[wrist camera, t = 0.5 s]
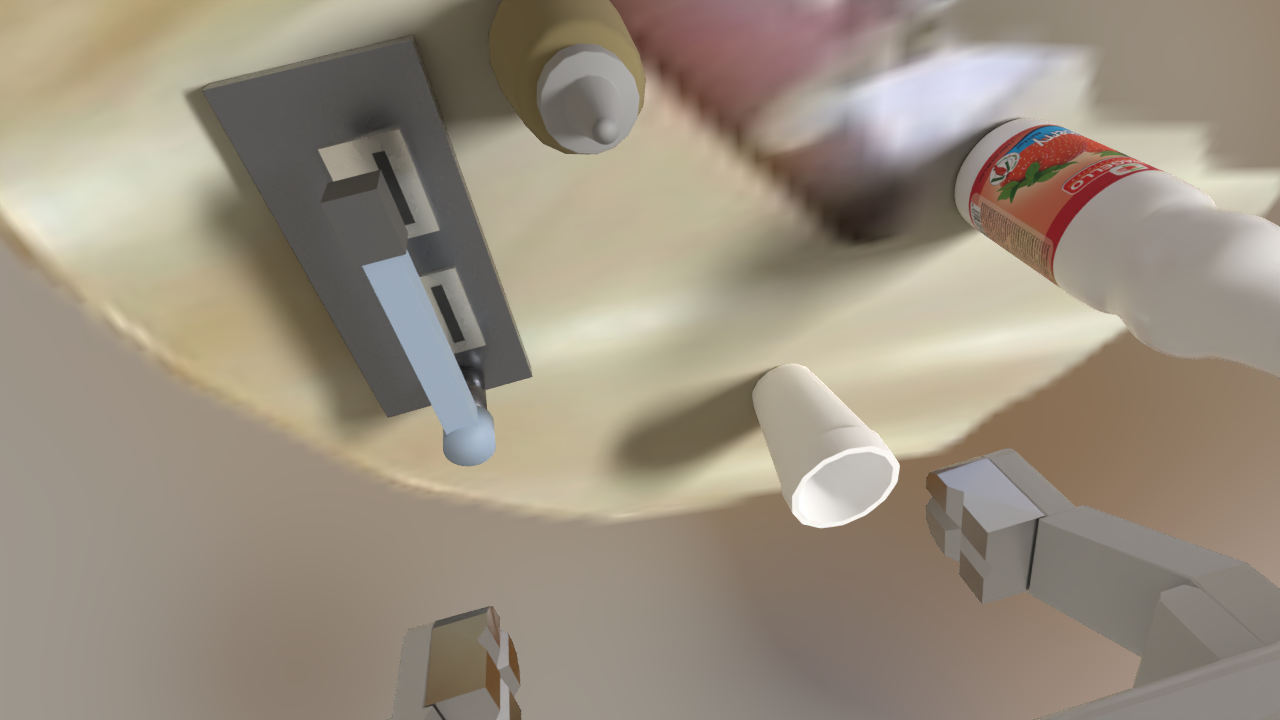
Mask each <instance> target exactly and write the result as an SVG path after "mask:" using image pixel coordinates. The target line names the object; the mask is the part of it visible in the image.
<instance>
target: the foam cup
mask: <svg viewBox="0 0 1280 720" xmlns="http://www.w3.org/2000/svg"><path fill="white" fill-rule="evenodd" d="M752 399H753V405H754V409H755V412H756V415H757V418H758V420H759V423H760V426H761V429H762V432H763V435H764V437H765V440H766V443H767V446H768V449H769V452H770V455H771V457H772V460H773V463H774V466H775V469H776V472H777V474H778V477H779V480H780V483H781V493H782V494H783V496H784V498H785V500H786V502H787V504H788V506H789V508H790V509H791V511H792V513H793V514H794V515H795V516H796V517H797V518H798V520H799V521H800V522H801V523H802V524H804V525H809V526H814V527H818V528H826V527H832V526H839V525H844V524H847V523H849V522H851V521H853V520H855V519H858V518H860V517H862V516H865V515H867V514H868V513H869V512H870V511H872V510H873V509H874V508H875V507H877V506H878V505H879V504H880V503H882V502H883V501H884V500H885V499H886V498H887V496H888V495H889V494H890V492H891V491H892V489H893V488H894V486H895V485H896V483H897V481H898V474H899V467H900V464H899V463H898V461H897V460H896V458H895V457H894V455H893V454H892V452H891V451H890V449H889V448H888V447H887V445H886V444H885V443H884V441H883V440H882V439H881V437H880V436H879V435H878V433H877V432H875V431H872V430H870V429H869V428H868V427H867V426H866V425H865V424H864V423H863V422H862V421H861V420H860V419H859V418H858V417H857V416H856V415H855V414H854V413H853V412H852V411H851V410H850V409H849V408H848V407H847V406H846V405H845V404H844V403H843V402H842V401H841V400H840V399H839V398H838V397H837V396H836V395H835V394H834V393H833V392H832V391H831V390H830V389H829V388H828V387H827V386H826V385H825V384H824V383H823V382H822V381H821V380H820V379H819V378H818V377H816V376H815V375H814V374H813V373H812V372H811V371H810V370H809V369H808V368H807V367H804V366H802V365H799V364H785V365H781V366H778V367H776V368H774V369H772V370H770V371H768V372H767V373H766V374H765V375H764V376H763V377H762V378H761V379H760V380H758V382H757V384H756V386H755V388H754V390H753V392H752Z"/></svg>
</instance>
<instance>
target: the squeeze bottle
mask: <svg viewBox="0 0 1280 720" xmlns="http://www.w3.org/2000/svg"><path fill="white" fill-rule="evenodd" d="M489 56H490V64H491V67H492V69H493V72H494V74H495V77H496V79H497V81H498V84H499V86H500V89H501V90H502V92H503V93H504V95H505V96H506V98H507V99H508V101H509V102H510V104H511V105H512V106H513V108H514V109H515V111H516V112H517V114H518V115H519V117H520V118H521V120H522V121H523V122H524V124H525V125H526V126H527V127H528V128H529V129H530V131H531V132H532V133H533V134H534V135H535V136H536V137H537V138H538V139H539V140H540V141H541V142H542V143H543V144H545V145H547V146H550V147H552V148H554V149H556V150H559V151H561V152H563V153H565V154H598V153H601V152H604V151H606V150H609V149H612V148H614V147H615V146H617V145H618V144H619V143H620V142H621V141H622V140H623V139H624V138H625V137H626V136H628V135H629V133H630V131H631V129H632V127H633V125H634V123H635V121H636V119H637V117H638V115H639V113H640V111H641V109H642V107H643V102H644V93H645V83H646V78H645V74H644V71H643V67H642V63H641V59H640V56H639V53H638V51H637V49H636V47H635V45H634V43H633V41H632V39H631V37H630V35H629V33H628V31H627V29H626V27H625V25H624V23H623V20H622V18H621V16H620V14H619V13H618V12H617V10H616V9H615V7H614V6H613V5H612V3H611V2H610V1H609V0H503V1H502V2H501V3H500V4H499V7H498V10H497V12H496V15H495V18H494V20H493V23H492V25H491V28H490V31H489Z"/></svg>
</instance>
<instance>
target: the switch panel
mask: <svg viewBox="0 0 1280 720" xmlns="http://www.w3.org/2000/svg"><path fill="white" fill-rule="evenodd" d="M202 91H203V93H204V95H205V96H206V98H207V100H208V102H209V103H210V105H211V107H212V109H213V110H214V112H215V114H216V116H217V117H218V119H219V121H220V123H221V125H222V126H223V128H224V130H225V132H226V133H227V135H228V137H229V139H230V140H231V142H232V144H233V146H234V147H235V149H236V151H237V153H238V154H239V156H240V158H241V160H242V162H243V163H244V165H245V167H246V169H247V170H248V172H249V174H250V176H251V177H252V179H253V181H254V183H255V184H256V186H257V188H258V190H259V192H260V193H261V195H262V197H263V199H264V200H265V202H266V204H267V206H268V207H269V209H270V211H271V213H272V214H273V216H274V218H275V220H276V221H277V223H278V225H279V227H280V229H281V230H282V232H283V234H284V236H285V237H286V239H287V241H288V243H289V244H290V246H291V248H292V250H293V251H294V253H295V255H296V257H297V258H298V260H299V262H300V264H301V266H302V267H303V269H304V271H305V273H306V274H307V276H308V278H309V280H310V281H311V283H312V285H313V287H314V288H315V290H316V292H317V294H318V296H319V297H320V299H321V301H322V303H323V304H324V306H325V308H326V310H327V311H328V313H329V315H330V317H331V318H332V320H333V322H334V324H335V325H336V327H337V329H338V331H339V333H340V334H341V336H342V338H343V340H344V341H345V343H346V345H347V347H348V348H349V350H350V352H351V354H352V355H353V357H354V359H355V361H356V362H357V364H358V366H359V368H360V370H361V371H362V373H363V375H364V377H365V378H366V380H367V382H368V384H369V385H370V387H371V389H372V391H373V392H374V394H375V396H376V398H377V400H378V401H379V403H380V405H381V407H382V408H383V410H384V412H385V414H386V415H387V417H392V416H396V415H399V414H403V413H406V412H410V411H413V410H417V409H420V408H424V407H427V406H431V403H430V401H429V399H428V397H427V395H426V393H425V391H424V389H423V387H422V385H421V383H420V381H419V379H418V377H417V375H416V373H415V371H414V369H413V367H412V365H411V363H410V361H409V359H408V357H407V355H406V353H405V351H404V349H403V347H402V345H401V343H400V341H399V339H398V337H397V335H396V333H395V331H394V329H393V327H392V325H391V323H390V321H389V319H388V317H387V315H386V313H385V311H384V309H383V307H382V305H381V303H380V301H379V299H378V297H377V295H376V293H375V291H374V289H373V287H372V285H371V283H370V281H369V279H368V277H367V275H366V273H365V271H364V269H363V267H362V266H360V267H356V268H353V267H352V265H351V263H350V261H349V259H348V257H347V255H346V253H345V251H344V249H343V247H342V245H341V243H340V241H339V239H338V237H337V235H336V233H335V231H334V229H333V228H332V226H331V224H330V222H329V220H328V218H327V216H326V214H325V212H324V210H323V208H322V206H321V204H320V202H321V200H322V197H323V194H324V191H325V188H326V186H327V183H330V182H334V181H338V180H342V179H346V178H349V177H353V176H357V175H361V174H365V173H369V172H373V171H377V170H381V171H382V174H383V176H384V178H385V181H386V183H387V185H388V188H389V190H390V192H391V194H392V197H393V199H394V201H395V204H396V206H397V208H398V211H399V213H400V215H401V217H402V220H403V222H404V224H405V227H406V229H407V231H408V239H407V251H408V253H409V255H410V257H411V260H412V262H413V264H414V266H415V269H416V271H417V273H418V275H419V278H420V280H421V282H422V284H423V287H424V289H425V291H426V293H427V296H428V298H429V300H430V302H431V305H432V307H433V309H434V311H435V314H436V316H437V318H438V320H439V323H440V325H441V327H442V329H443V332H444V334H445V336H446V338H447V341H448V343H449V345H450V347H451V350H452V352H453V354H454V356H455V359H456V361H457V363H458V365H459V368H460V370H461V372H462V374H463V377H464V379H465V381H466V383H467V386H468V388H469V390H470V392H471V395H472V397H473V399H474V401H475V404H476V405H477V406H480V407H483V408H485V409H486V410H487V403H486V390H487V389H491V388H495V387H498V386H502V385H505V384H509V383H512V382H516V381H519V380H523V379H526V378H530V377H532V371H531V366H530V363H529V360H528V357H527V355H526V352H525V349H524V346H523V343H522V341H521V338H520V335H519V332H518V329H517V326H516V324H515V321H514V318H513V315H512V312H511V310H510V307H509V304H508V301H507V298H506V296H505V293H504V290H503V287H502V284H501V282H500V279H499V276H498V273H497V270H496V267H495V265H494V262H493V259H492V256H491V253H490V251H489V248H488V245H487V242H486V239H485V237H484V234H483V231H482V228H481V225H480V223H479V220H478V217H477V214H476V211H475V208H474V206H473V203H472V200H471V197H470V194H469V192H468V189H467V186H466V183H465V180H464V178H463V175H462V172H461V169H460V166H459V164H458V161H457V158H456V155H455V152H454V149H453V147H452V144H451V141H450V138H449V135H448V133H447V130H446V127H445V124H444V121H443V119H442V116H441V113H440V110H439V107H438V105H437V102H436V99H435V96H434V93H433V90H432V88H431V85H430V82H429V79H428V76H427V74H426V71H425V68H424V65H423V62H422V60H421V57H420V54H419V51H418V48H417V46H416V43H415V40H414V37H413V35H409V36H405V37H401V38H397V39H393V40H389V41H384V42H380V43H376V44H372V45H368V46H364V47H359V48H355V49H351V50H347V51H343V52H339V53H334V54H330V55H326V56H322V57H318V58H313V59H309V60H305V61H301V62H297V63H293V64H288V65H284V66H280V67H276V68H272V69H268V70H263V71H259V72H255V73H251V74H247V75H243V76H238V77H234V78H230V79H226V80H222V81H218V82H213V83H209V84H208V85H207V86H206V87H205V88H204V89H203V90H202Z"/></svg>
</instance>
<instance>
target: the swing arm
mask: <svg viewBox="0 0 1280 720" xmlns="http://www.w3.org/2000/svg"><path fill="white" fill-rule="evenodd" d="M320 204H321V206H322V208H323V210H324V212H325V214H326V216H327V218H328V220H329V222H330V224H331V226H332V228H333V229H334V231H335V233H336V235H337V237H338V239H339V241H340V243H341V245H342V247H343V249H344V251H345V253H346V255H347V257H348V259H349V261H350V263H351V265H352V267H353V268H356V267H360V266H362V267H363V269H364V271H365V273H366V275H367V277H368V279H369V281H370V283H371V285H372V287H373V289H374V291H375V293H376V295H377V297H378V299H379V301H380V303H381V305H382V307H383V309H384V311H385V313H386V315H387V317H388V319H389V321H390V323H391V325H392V327H393V329H394V331H395V333H396V335H397V337H398V339H399V341H400V343H401V345H402V347H403V349H404V351H405V353H406V355H407V357H408V359H409V361H410V363H411V365H412V367H413V369H414V371H415V373H416V375H417V377H418V379H419V381H420V383H421V385H422V387H423V389H424V391H425V393H426V395H427V397H428V399H429V401H430V403H431V405H432V407H433V409H434V411H435V413H436V415H437V417H438V419H439V421H440V423H441V425H442V427H443V451H444V454H445V456H446V458H447V459H448V460H449V461H451V462H452V463H454V464H457V465H461V466H475V465H478V464H481V463H483V462H485V461H487V460H488V459H489V458H490V457H491V456H492V455H493V453H494V451H495V448H496V444H495V433H494V422H493V417H492V415H491V414H490V412H489V411H487V410H486V409H485V408H483V407H480V406H477V405H476V404H475V401H474V399H473V397H472V395H471V392H470V390H469V388H468V386H467V383H466V381H465V379H464V377H463V374H462V372H461V370H460V368H459V365H458V363H457V361H456V359H455V356H454V354H453V352H452V350H451V347H450V345H449V343H448V341H447V338H446V336H445V334H444V332H443V329H442V327H441V325H440V323H439V320H438V318H437V316H436V314H435V311H434V309H433V307H432V305H431V302H430V300H429V298H428V296H427V293H426V291H425V289H424V287H423V284H422V282H421V280H420V278H419V275H418V273H417V271H416V269H415V266H414V264H413V262H412V260H411V257H410V255H409V253H408V251H407V239H408V231H407V229H406V227H405V224H404V222H403V220H402V217H401V215H400V213H399V211H398V208H397V206H396V204H395V201H394V199H393V197H392V194H391V192H390V190H389V188H388V185H387V183H386V181H385V178H384V176H383V174H382V171H381V170H377V171H373V172H369V173H365V174H361V175H357V176H353V177H349V178H346V179H342V180H338V181H334V182H330V183H327V186H326V188H325V191H324V194H323V197H322V200H321V202H320Z"/></svg>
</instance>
